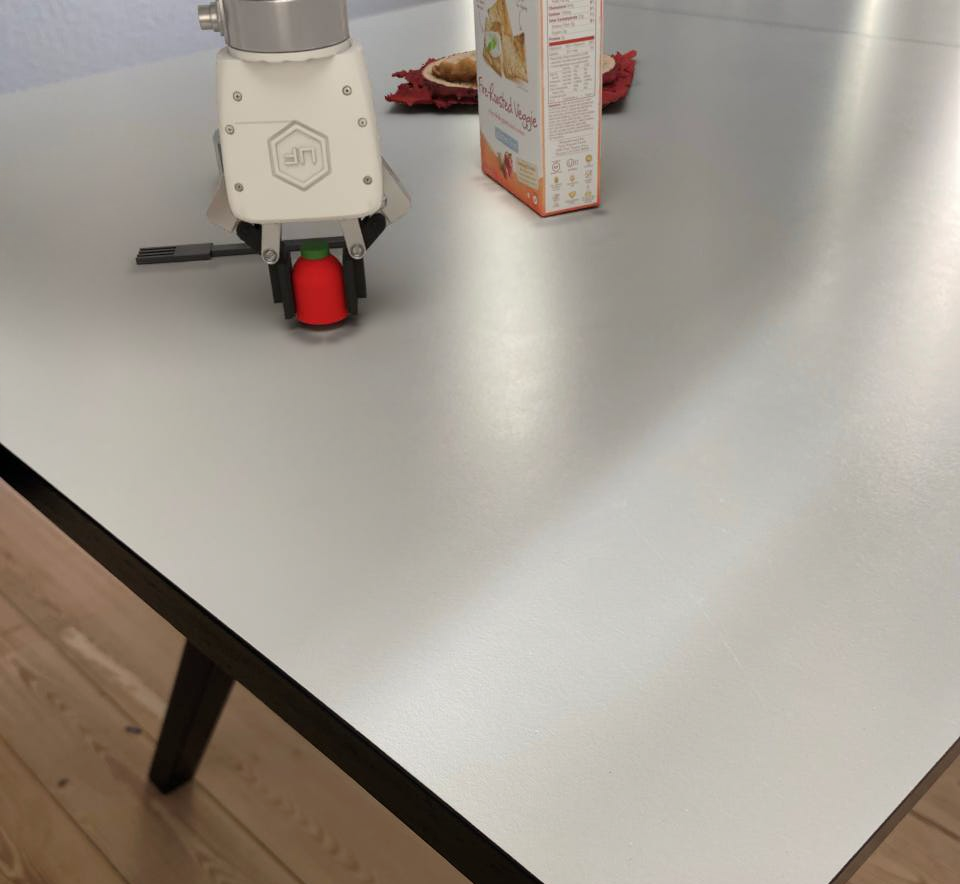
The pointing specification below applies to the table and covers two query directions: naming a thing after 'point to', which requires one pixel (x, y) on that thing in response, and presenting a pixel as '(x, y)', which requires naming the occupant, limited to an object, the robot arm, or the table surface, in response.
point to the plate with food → (459, 80)
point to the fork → (216, 250)
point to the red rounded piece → (318, 285)
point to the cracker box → (541, 99)
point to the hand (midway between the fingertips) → (322, 307)
